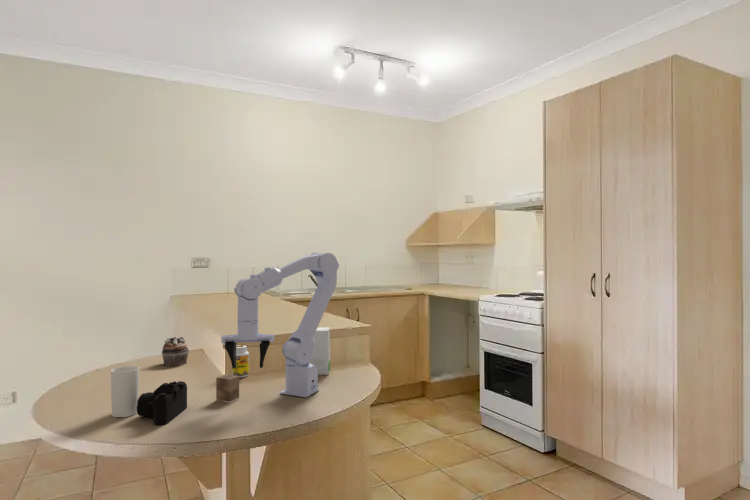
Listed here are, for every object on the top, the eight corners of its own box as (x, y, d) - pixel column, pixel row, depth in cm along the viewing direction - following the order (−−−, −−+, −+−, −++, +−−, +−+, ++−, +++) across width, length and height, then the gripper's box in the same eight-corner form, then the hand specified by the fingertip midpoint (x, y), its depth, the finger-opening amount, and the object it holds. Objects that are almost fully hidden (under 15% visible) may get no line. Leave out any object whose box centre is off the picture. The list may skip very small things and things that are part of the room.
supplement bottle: (231, 378, 161) (231, 348, 161) (233, 374, 166) (233, 345, 166) (247, 377, 162) (247, 347, 162) (249, 373, 167) (249, 344, 167)
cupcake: (156, 366, 177) (156, 339, 177) (171, 360, 187) (171, 335, 186) (179, 367, 175) (179, 340, 175) (193, 361, 185) (193, 335, 185)
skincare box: (328, 375, 165) (328, 330, 165) (309, 375, 165) (309, 330, 165) (330, 369, 173) (330, 326, 173) (312, 369, 173) (312, 326, 173)
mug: (134, 417, 124) (134, 371, 124) (106, 419, 123) (106, 372, 123) (145, 404, 134) (145, 362, 134) (120, 406, 133) (120, 363, 132)
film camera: (157, 406, 133) (157, 374, 133) (191, 406, 133) (191, 374, 133) (127, 426, 118) (127, 390, 118) (165, 427, 118) (165, 391, 117)
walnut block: (239, 398, 140) (239, 375, 140) (230, 402, 136) (230, 379, 136) (225, 396, 142) (225, 374, 142) (216, 400, 138) (216, 377, 138)
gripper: (275, 317, 141) (275, 363, 141) (225, 318, 140) (225, 364, 140) (272, 321, 134) (272, 369, 134) (219, 322, 133) (219, 370, 133)
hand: (247, 367), depth 137 cm, fingers open, 7 cm apart
